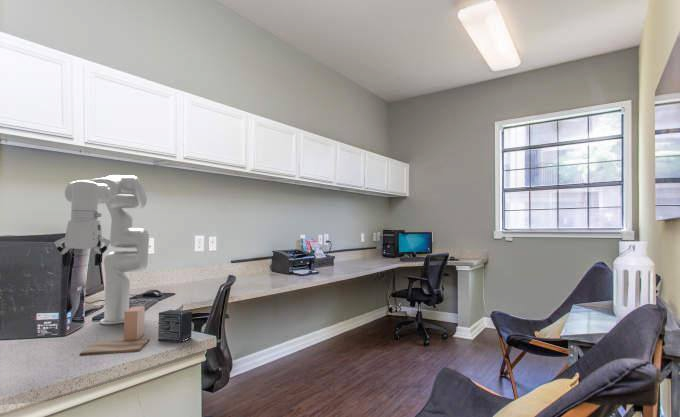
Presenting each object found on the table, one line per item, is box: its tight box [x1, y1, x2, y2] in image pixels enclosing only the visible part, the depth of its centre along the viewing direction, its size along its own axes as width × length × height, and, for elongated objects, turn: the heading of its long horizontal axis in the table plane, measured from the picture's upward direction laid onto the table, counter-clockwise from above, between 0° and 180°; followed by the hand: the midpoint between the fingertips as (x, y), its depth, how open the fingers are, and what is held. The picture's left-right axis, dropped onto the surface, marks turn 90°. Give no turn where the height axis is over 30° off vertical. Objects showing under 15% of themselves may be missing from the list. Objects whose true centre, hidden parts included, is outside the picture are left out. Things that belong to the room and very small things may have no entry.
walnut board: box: [79, 338, 150, 356], centre depth 129 cm, size 12×18×1 cm, turn 103°
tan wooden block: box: [123, 305, 146, 340], centre depth 141 cm, size 9×5×11 cm, turn 13°
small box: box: [157, 309, 193, 343], centre depth 139 cm, size 11×6×10 cm, turn 74°
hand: (82, 265), depth 127 cm, fingers open, 9 cm apart
